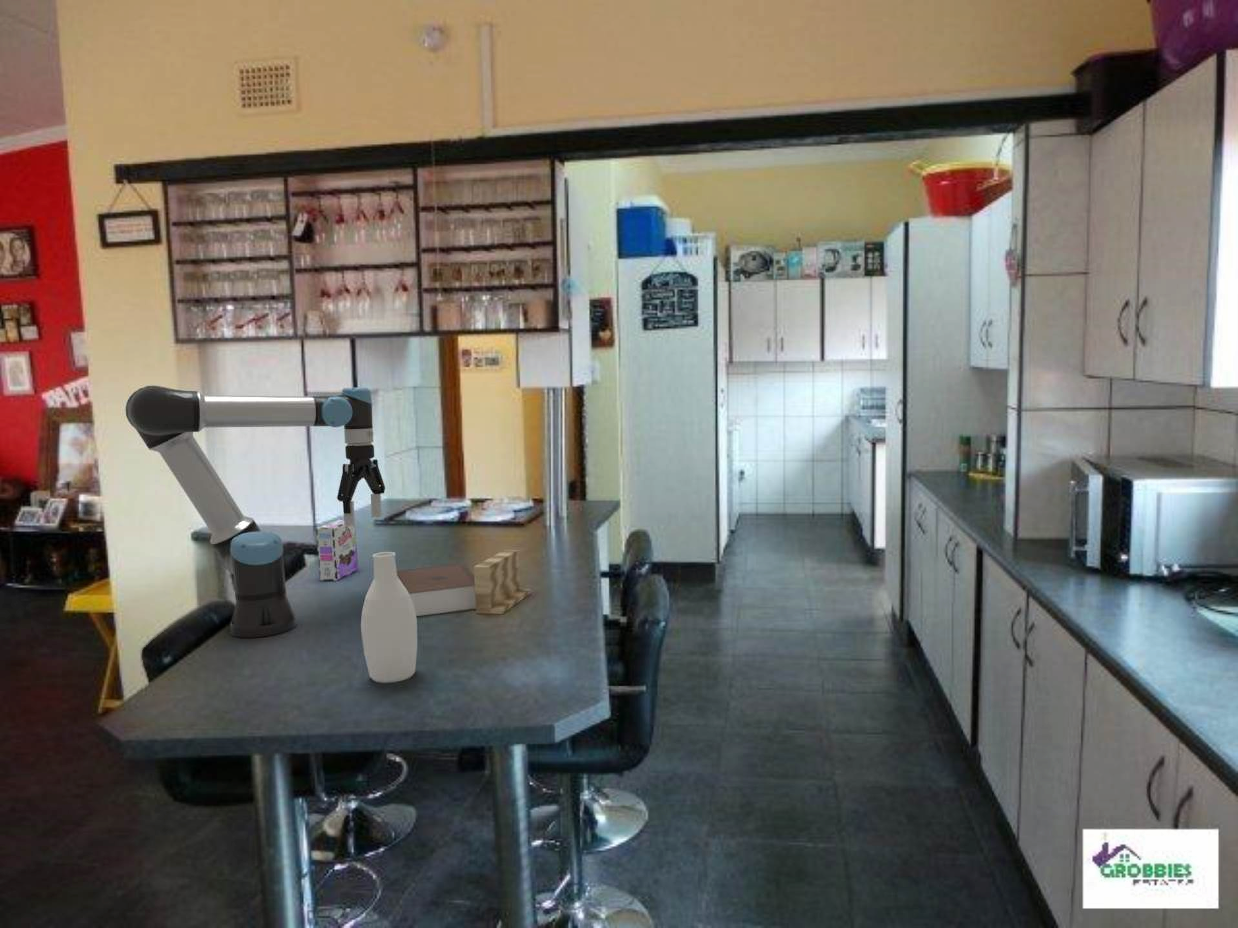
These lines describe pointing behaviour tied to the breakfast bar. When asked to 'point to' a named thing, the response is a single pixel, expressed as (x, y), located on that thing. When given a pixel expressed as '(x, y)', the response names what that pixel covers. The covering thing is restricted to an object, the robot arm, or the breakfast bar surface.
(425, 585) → the book
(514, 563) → the bookend
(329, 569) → the candy box
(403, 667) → the bottle
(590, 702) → the breakfast bar surface
